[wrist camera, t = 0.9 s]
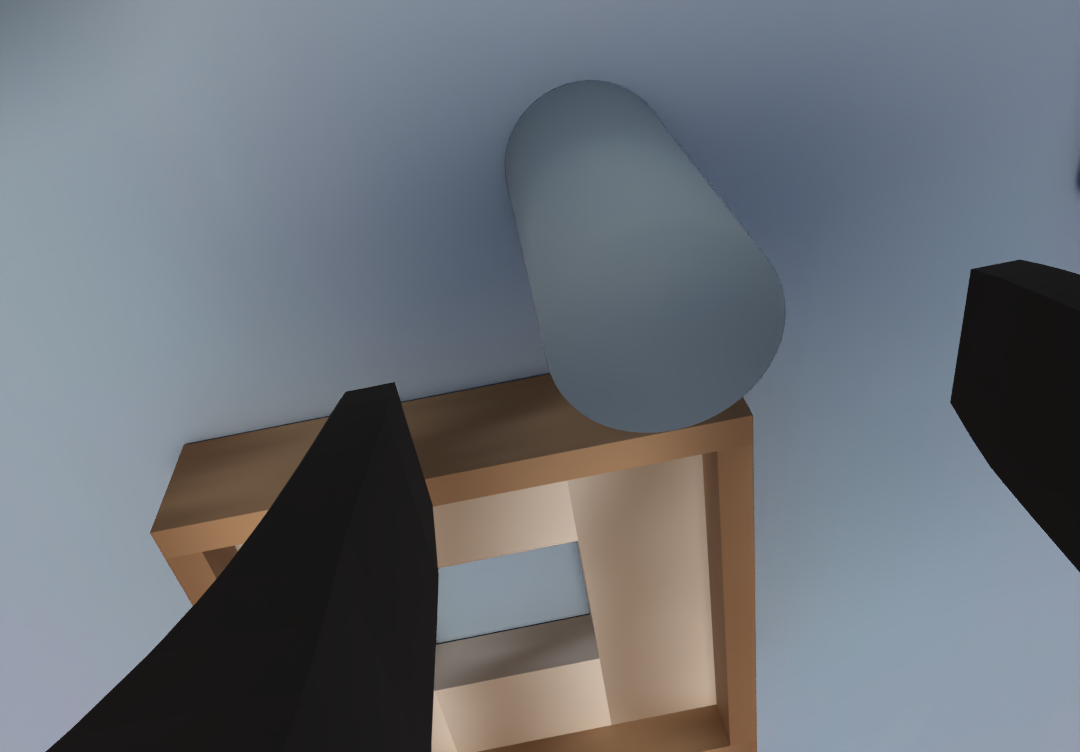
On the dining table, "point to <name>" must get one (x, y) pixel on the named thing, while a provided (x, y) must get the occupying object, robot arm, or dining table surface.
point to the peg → (635, 265)
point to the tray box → (536, 522)
